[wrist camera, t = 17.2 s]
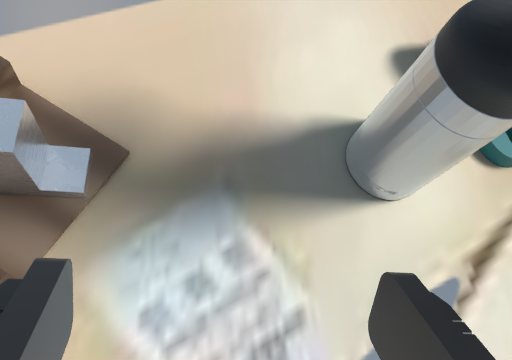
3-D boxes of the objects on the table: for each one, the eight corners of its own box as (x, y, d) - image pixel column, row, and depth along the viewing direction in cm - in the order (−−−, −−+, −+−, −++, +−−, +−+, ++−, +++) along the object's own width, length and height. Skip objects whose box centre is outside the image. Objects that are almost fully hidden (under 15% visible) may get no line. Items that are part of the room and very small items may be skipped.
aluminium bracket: (-9, 192, 38) (-56, 147, 30) (2, 148, 40) (-40, 94, 32) (86, 198, 40) (65, 156, 31) (92, 155, 41) (75, 104, 33)
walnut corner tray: (12, 80, 43) (-2, 55, 39) (129, 153, 43) (126, 134, 39) (-126, 206, 36) (-158, 189, 33) (11, 294, 36) (-6, 287, 32)
